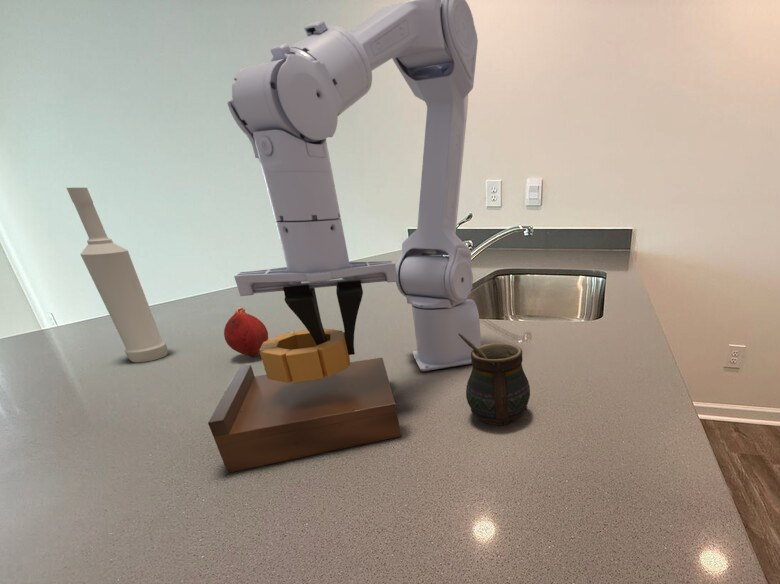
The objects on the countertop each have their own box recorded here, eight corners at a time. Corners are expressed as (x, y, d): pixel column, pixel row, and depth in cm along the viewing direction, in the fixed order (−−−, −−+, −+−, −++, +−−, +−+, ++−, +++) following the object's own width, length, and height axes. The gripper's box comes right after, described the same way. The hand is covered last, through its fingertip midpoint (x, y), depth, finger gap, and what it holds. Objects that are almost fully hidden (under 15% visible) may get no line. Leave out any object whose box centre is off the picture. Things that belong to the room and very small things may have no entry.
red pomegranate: (255, 364, 63) (239, 313, 59) (223, 362, 64) (206, 312, 60) (281, 351, 68) (268, 303, 64) (251, 349, 69) (237, 302, 66)
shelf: (387, 384, 55) (380, 346, 53) (400, 436, 43) (393, 390, 41) (253, 407, 50) (239, 366, 48) (227, 473, 38) (207, 422, 36)
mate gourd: (536, 428, 44) (537, 341, 40) (467, 436, 43) (460, 347, 39) (524, 398, 51) (523, 320, 46) (463, 404, 50) (456, 325, 45)
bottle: (121, 360, 65) (41, 188, 55) (157, 349, 70) (89, 188, 59) (141, 364, 64) (62, 187, 53) (176, 353, 68) (110, 187, 57)
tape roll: (349, 349, 48) (344, 325, 47) (351, 374, 42) (345, 347, 40) (274, 359, 46) (266, 334, 45) (263, 388, 39) (254, 359, 38)
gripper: (208, 226, 33) (257, 379, 39) (392, 218, 37) (411, 355, 43) (228, 221, 39) (268, 354, 45) (384, 215, 43) (402, 336, 49)
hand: (338, 353), depth 44 cm, fingers closed on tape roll, 2 cm apart
